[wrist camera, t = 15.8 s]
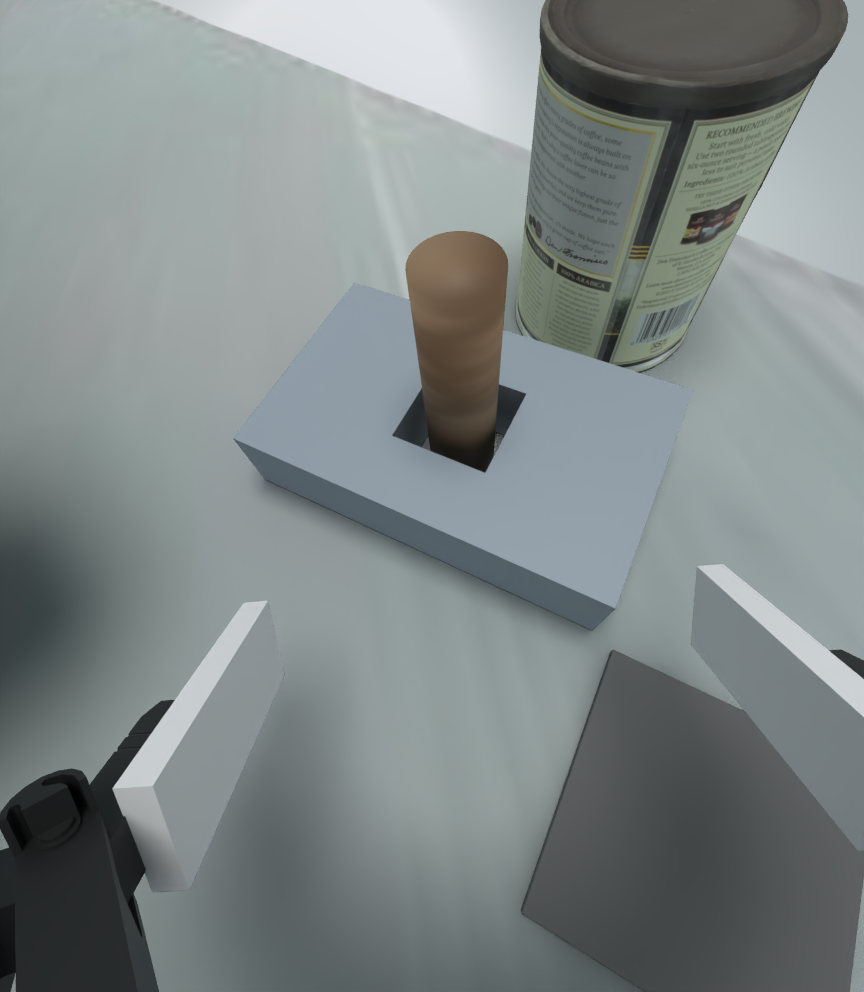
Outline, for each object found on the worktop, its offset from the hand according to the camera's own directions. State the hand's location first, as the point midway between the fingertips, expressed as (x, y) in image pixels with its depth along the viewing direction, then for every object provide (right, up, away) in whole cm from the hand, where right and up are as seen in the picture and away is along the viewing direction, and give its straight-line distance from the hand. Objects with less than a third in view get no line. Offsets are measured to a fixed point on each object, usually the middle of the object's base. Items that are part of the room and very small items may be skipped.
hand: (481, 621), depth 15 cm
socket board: (0, +6, +11) cm, 12 cm away
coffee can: (+9, +15, +15) cm, 23 cm away
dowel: (0, +6, +11) cm, 12 cm away
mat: (+8, -9, +3) cm, 12 cm away
